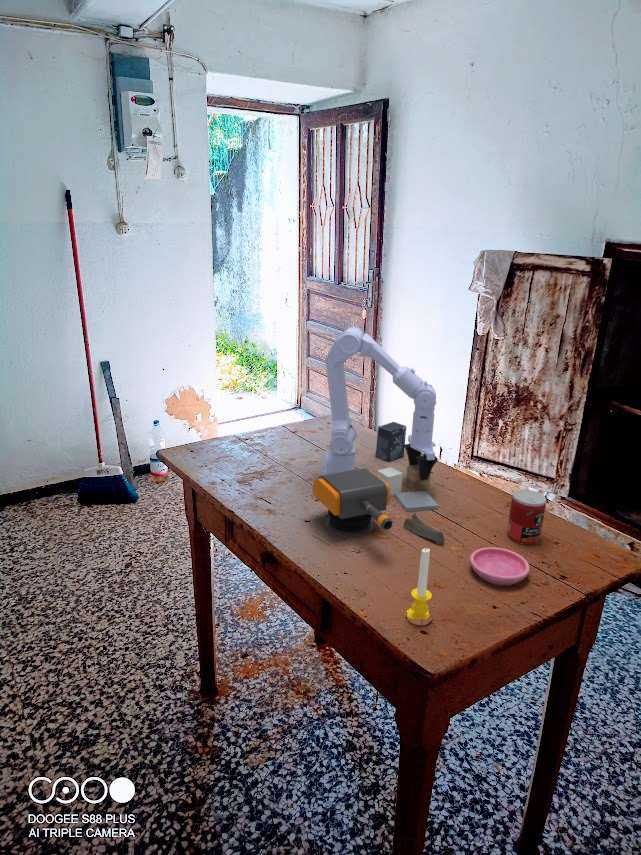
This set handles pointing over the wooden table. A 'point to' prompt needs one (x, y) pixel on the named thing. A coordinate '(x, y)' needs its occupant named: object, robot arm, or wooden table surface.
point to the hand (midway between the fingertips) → (418, 473)
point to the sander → (353, 501)
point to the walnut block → (416, 479)
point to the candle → (421, 590)
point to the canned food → (526, 516)
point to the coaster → (416, 501)
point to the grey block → (391, 479)
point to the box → (390, 441)
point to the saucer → (499, 565)
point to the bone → (423, 529)
